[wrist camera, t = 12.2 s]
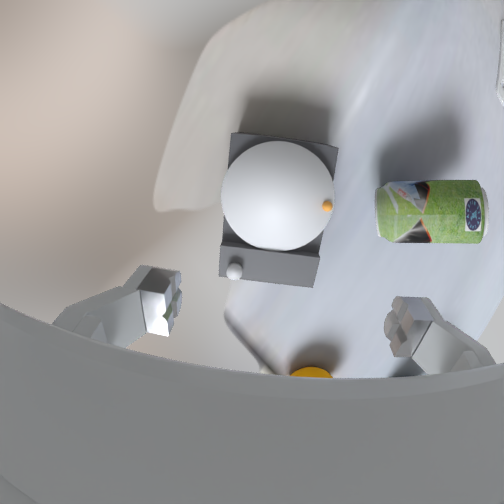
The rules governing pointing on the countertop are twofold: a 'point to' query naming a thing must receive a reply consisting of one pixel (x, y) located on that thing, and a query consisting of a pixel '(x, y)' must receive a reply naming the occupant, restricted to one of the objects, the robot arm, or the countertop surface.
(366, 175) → the countertop surface
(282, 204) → the body block
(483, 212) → the beverage can
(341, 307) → the countertop surface
